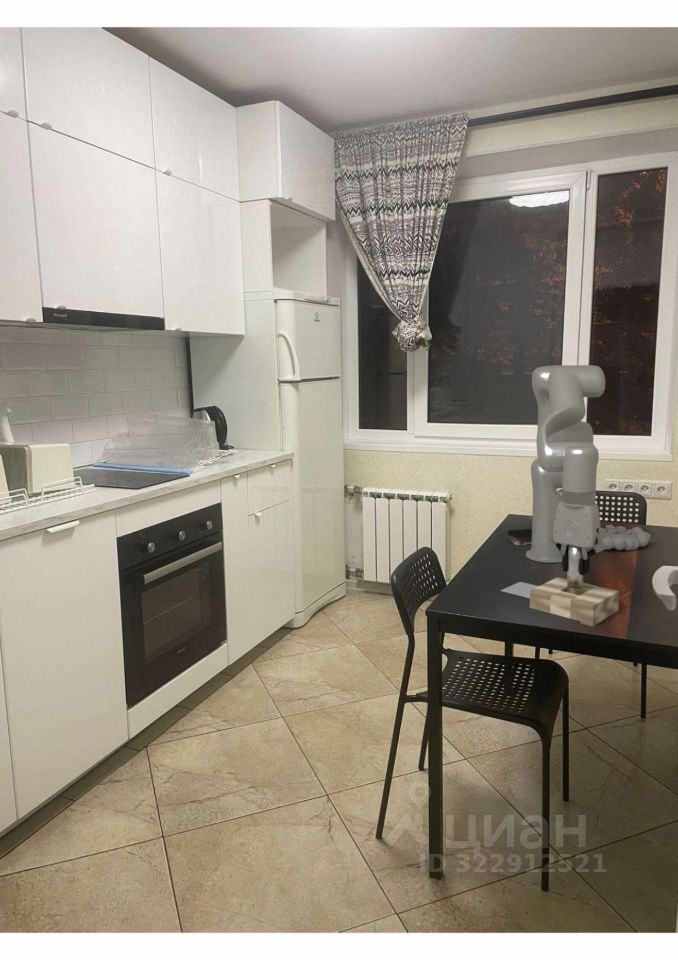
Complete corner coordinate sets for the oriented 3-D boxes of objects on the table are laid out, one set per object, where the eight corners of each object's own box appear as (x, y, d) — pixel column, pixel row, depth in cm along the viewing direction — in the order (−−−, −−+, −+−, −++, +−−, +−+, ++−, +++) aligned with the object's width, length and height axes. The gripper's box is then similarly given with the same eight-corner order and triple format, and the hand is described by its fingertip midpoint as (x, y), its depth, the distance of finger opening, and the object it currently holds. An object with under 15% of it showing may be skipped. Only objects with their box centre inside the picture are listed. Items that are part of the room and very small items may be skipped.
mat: (520, 583, 185) (520, 581, 185) (553, 591, 178) (553, 589, 178) (500, 592, 178) (500, 590, 178) (534, 601, 171) (534, 599, 171)
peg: (571, 583, 166) (573, 535, 164) (585, 586, 164) (587, 538, 162) (564, 586, 164) (566, 538, 162) (578, 589, 161) (580, 541, 159)
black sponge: (548, 537, 234) (548, 527, 234) (560, 543, 226) (560, 533, 226) (504, 540, 232) (504, 530, 231) (515, 547, 223) (515, 536, 223)
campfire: (639, 558, 208) (640, 540, 207) (570, 548, 220) (571, 530, 219) (656, 543, 225) (657, 525, 224) (591, 534, 237) (592, 518, 237)
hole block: (557, 595, 175) (557, 577, 174) (618, 610, 164) (619, 590, 163) (529, 609, 166) (530, 590, 165) (592, 626, 154) (593, 605, 154)
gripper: (538, 496, 163) (536, 568, 166) (605, 504, 152) (602, 583, 155) (553, 491, 169) (551, 562, 171) (619, 499, 157) (616, 575, 160)
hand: (575, 571), depth 163 cm, fingers closed on peg, 3 cm apart
